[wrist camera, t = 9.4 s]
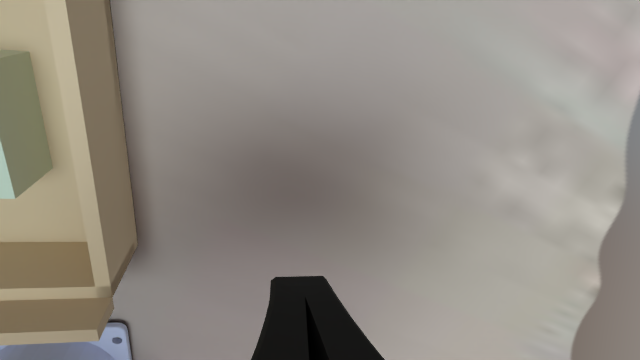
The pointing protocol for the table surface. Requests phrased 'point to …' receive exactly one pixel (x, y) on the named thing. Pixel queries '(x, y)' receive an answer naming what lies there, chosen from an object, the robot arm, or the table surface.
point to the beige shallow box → (67, 179)
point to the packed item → (20, 126)
